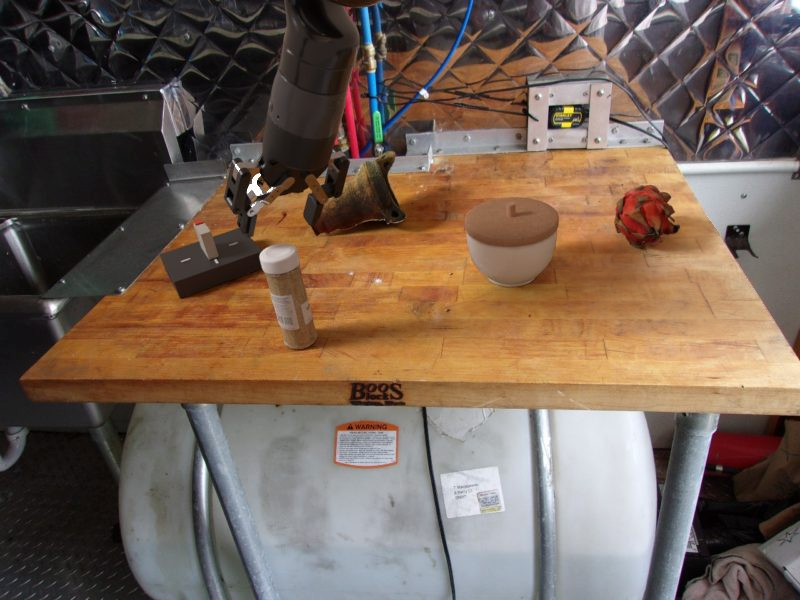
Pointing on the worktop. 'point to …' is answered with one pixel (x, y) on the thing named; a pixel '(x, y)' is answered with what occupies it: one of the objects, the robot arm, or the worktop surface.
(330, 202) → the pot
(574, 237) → the worktop surface
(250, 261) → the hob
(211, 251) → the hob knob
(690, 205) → the worktop surface
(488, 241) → the lidded bowl
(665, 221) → the dragon fruit
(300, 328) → the sprinkles bottle
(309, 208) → the robot arm
